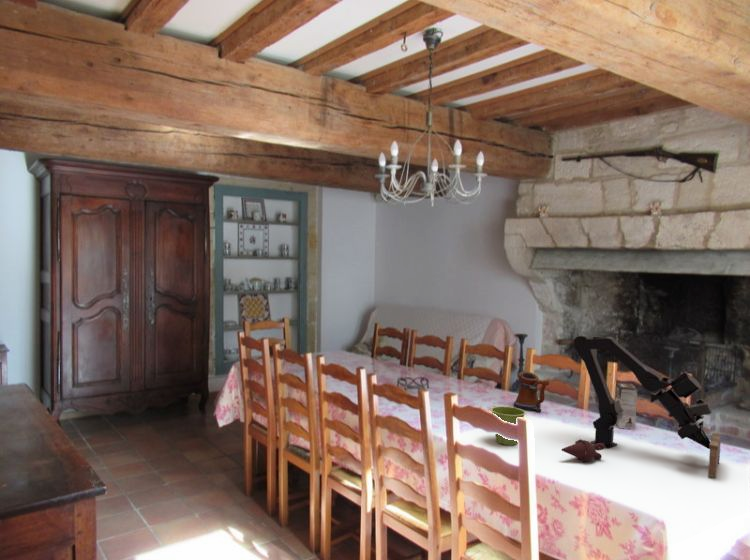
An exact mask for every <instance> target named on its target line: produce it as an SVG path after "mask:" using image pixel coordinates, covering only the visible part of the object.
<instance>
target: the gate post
mask: <svg viewBox="0 0 750 560" xmlns="http://www.w3.org/2000/svg"><path fill="white" fill-rule="evenodd" d="M714 433H715V434H720V433H718V432H714ZM721 443H722V434H720V442H719V455H718V465H720V460H721V459H720V456H721Z"/></svg>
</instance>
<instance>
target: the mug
mask: <svg viewBox="0 0 750 560" xmlns="http://www.w3.org/2000/svg"><path fill="white" fill-rule="evenodd" d="M517 375H518V379H519V380H518V384H519V390H518V395H517V396H516V399H515V401H514V402H513V407H514V408H519V409H522V410H524V411H525V412H526V411H528V412H537V413H541V412H542V409H541V406H542V405H541V404H542V403H544V402H545V397H546V396H545V390H546V386H549V385H550V383H551V382H550V381H549V380H540V379H539V377H538V376H537V375H536V374H535V373H533V372H530V371H520V372H518V374H517ZM539 385H541V387H539ZM539 388H540V389H539ZM538 389H539V397H538V394H537V393H538Z"/></svg>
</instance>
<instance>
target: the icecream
mask: <svg viewBox="0 0 750 560" xmlns="http://www.w3.org/2000/svg"><path fill="white" fill-rule="evenodd" d="M604 449H606V448H605V445H604V444H603V443H597V444H592V443H591V441H588V440H584V439H581V438H580V439H579V440H576V441H575V443H574V444H572V445H568V446H566V447H563V448H561V452H564V453H567V454H569V455H570V456H572V457H573V456H574V457H575V458H577V460H578V461H580V462H581V461H582V463H585V462H587V461H592V460H593V459H594V460H600V459H602V457H603V456H602V454H601V453H600V452H598V451H602V450H604Z"/></svg>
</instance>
